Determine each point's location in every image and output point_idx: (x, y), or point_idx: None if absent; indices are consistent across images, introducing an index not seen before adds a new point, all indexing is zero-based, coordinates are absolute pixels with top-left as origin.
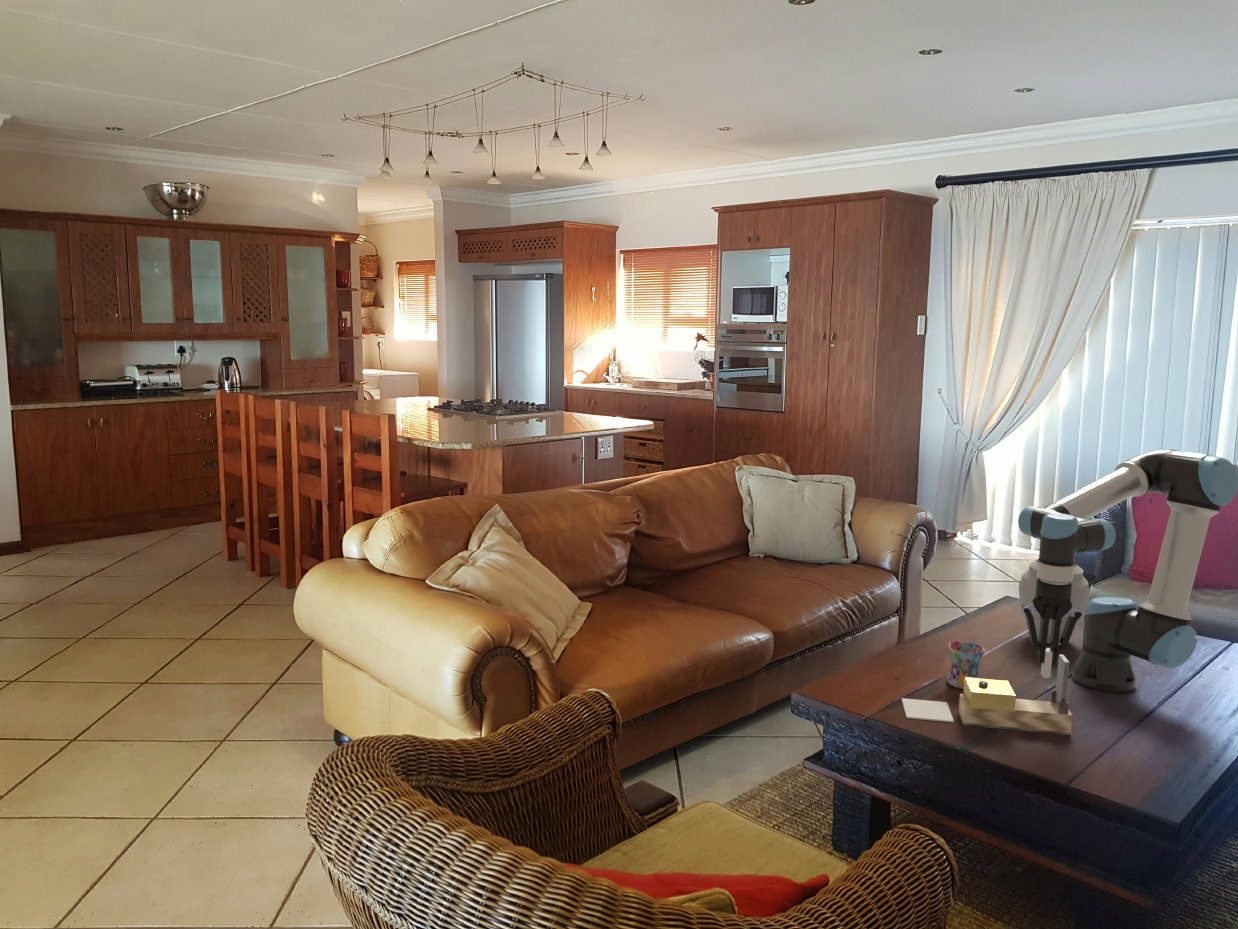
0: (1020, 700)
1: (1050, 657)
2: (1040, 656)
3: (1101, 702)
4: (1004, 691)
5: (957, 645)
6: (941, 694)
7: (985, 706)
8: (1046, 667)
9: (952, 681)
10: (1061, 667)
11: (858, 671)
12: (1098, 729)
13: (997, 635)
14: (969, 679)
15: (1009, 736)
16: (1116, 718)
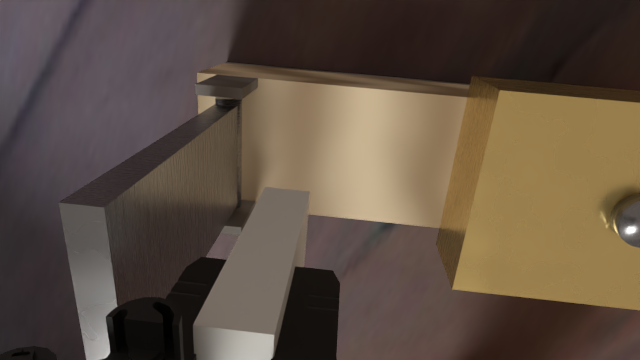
0: (387, 208)
1: (233, 283)
2: (328, 312)
3: (68, 325)
4: (544, 147)
5: None
6: (582, 345)
7: (626, 90)
8: (284, 227)
9: None
10: (157, 243)
11: None
12: (113, 129)
13: None
14: None
15: (482, 14)
16: (40, 221)
